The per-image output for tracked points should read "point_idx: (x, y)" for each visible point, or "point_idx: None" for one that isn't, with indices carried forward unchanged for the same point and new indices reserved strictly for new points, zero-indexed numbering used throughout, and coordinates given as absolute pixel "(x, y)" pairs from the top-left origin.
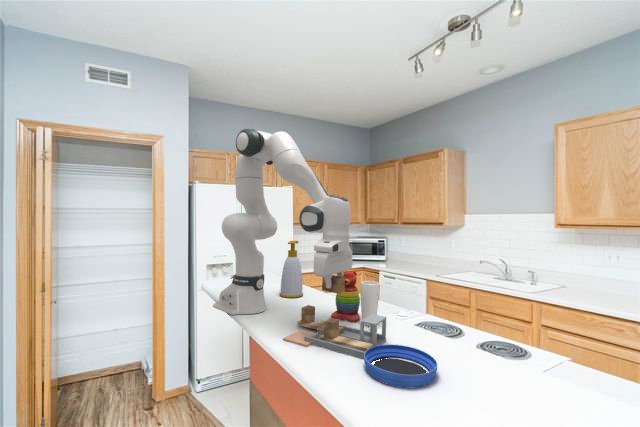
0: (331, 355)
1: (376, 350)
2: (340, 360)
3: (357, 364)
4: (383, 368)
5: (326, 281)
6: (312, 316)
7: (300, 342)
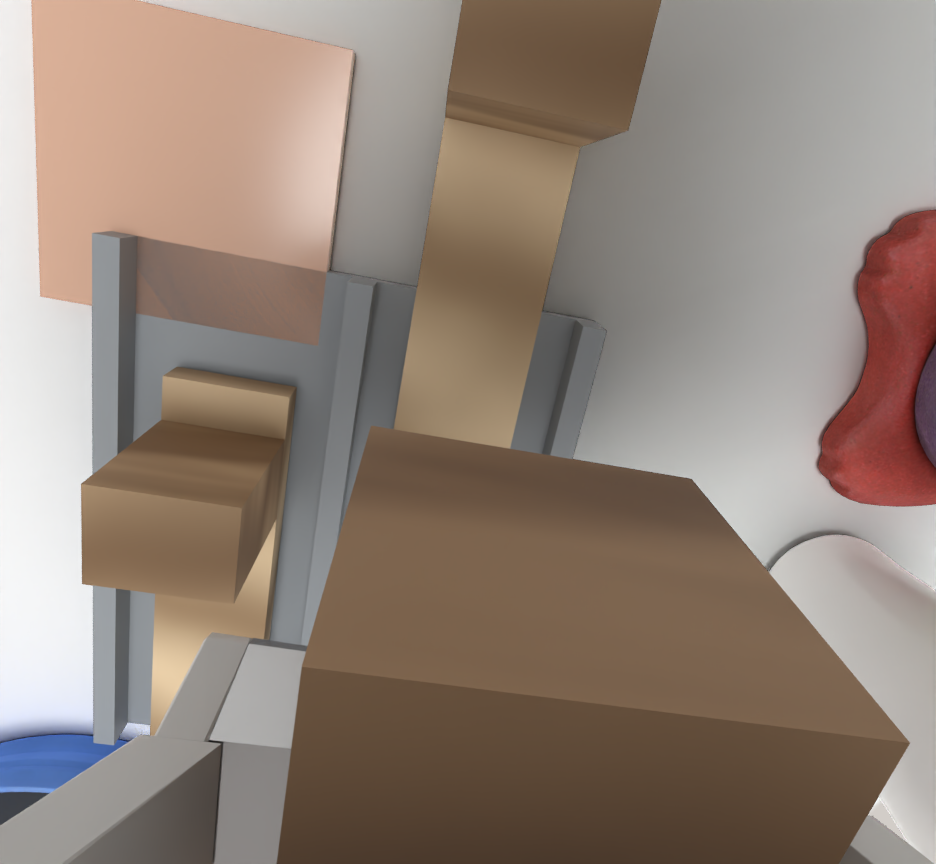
0: (35, 521)
1: None
2: (3, 595)
3: (21, 692)
4: None
5: (99, 794)
6: (538, 128)
7: (51, 215)
